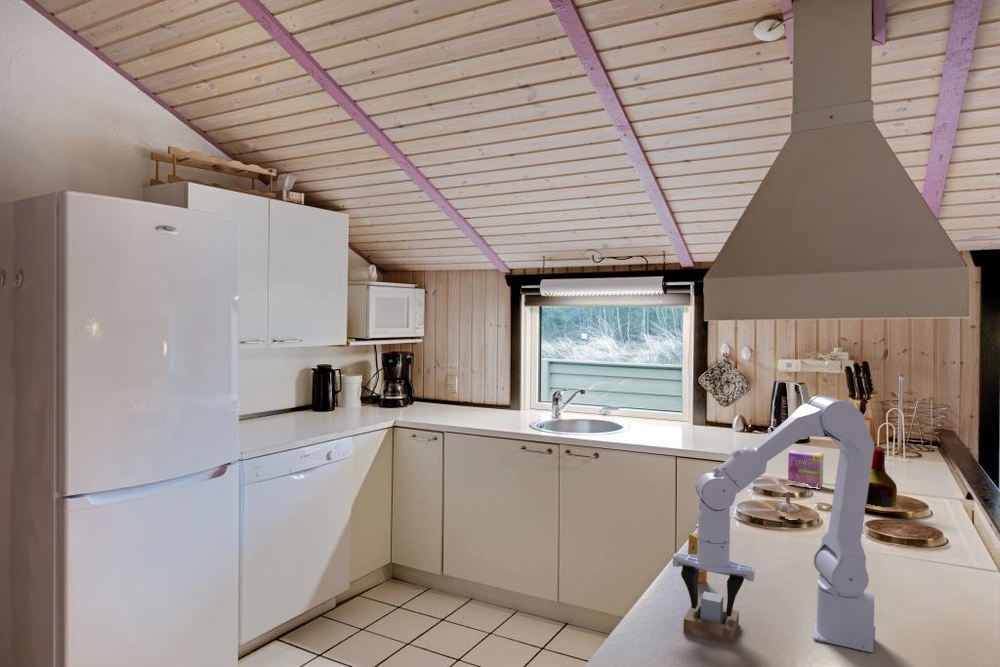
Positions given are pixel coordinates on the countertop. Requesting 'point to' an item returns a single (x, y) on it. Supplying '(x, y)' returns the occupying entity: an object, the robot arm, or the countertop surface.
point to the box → (806, 467)
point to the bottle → (880, 482)
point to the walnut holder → (711, 625)
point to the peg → (712, 607)
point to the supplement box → (693, 551)
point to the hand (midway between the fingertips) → (711, 610)
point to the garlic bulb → (787, 506)
